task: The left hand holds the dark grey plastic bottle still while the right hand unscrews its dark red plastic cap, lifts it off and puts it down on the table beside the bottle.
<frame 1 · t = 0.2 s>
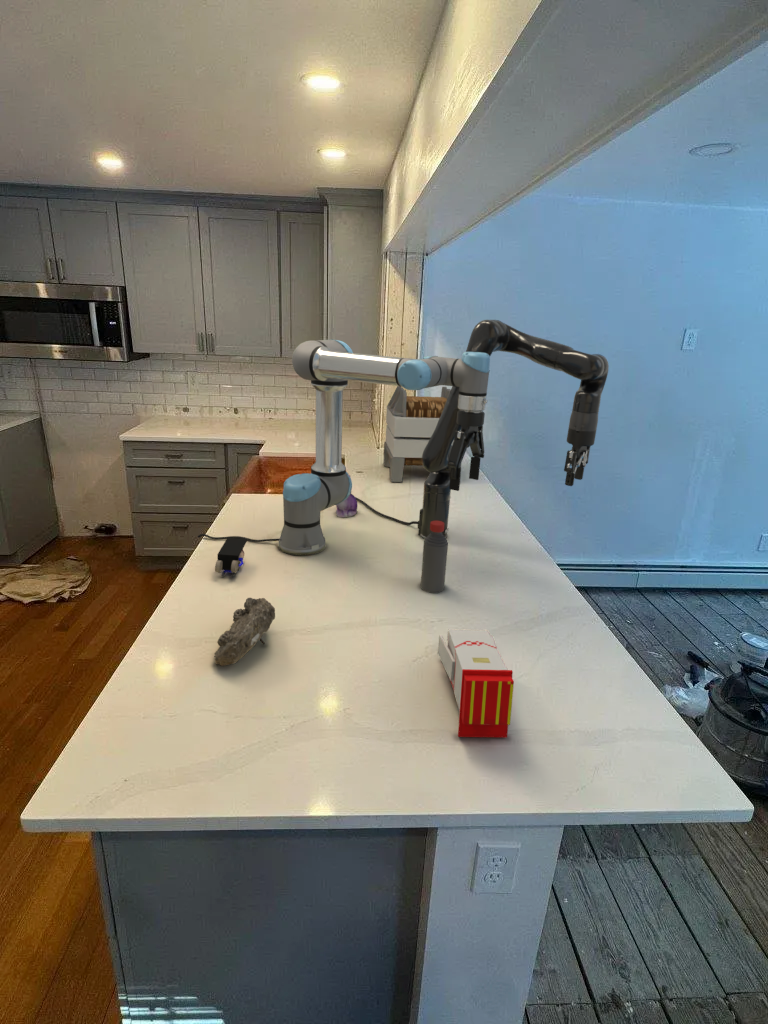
left hand: (464, 484, 163), 28 cm above the counter, tool pointing down, fingers open, 13 cm apart
right hand: (573, 482, 165), 29 cm above the counter, tool pointing down, fingers open, 8 cm apart
fossil: (248, 643, 132), on the counter
grey boxy piece: (419, 473, 275), on the counter
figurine: (346, 514, 217), on the counter
toy: (469, 691, 119), on the counter
bottle: (432, 587, 163), on the counter
cap: (437, 524, 156), point 19 cm above the counter, screwed on, not yet turned
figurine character: (232, 569, 168), on the counter
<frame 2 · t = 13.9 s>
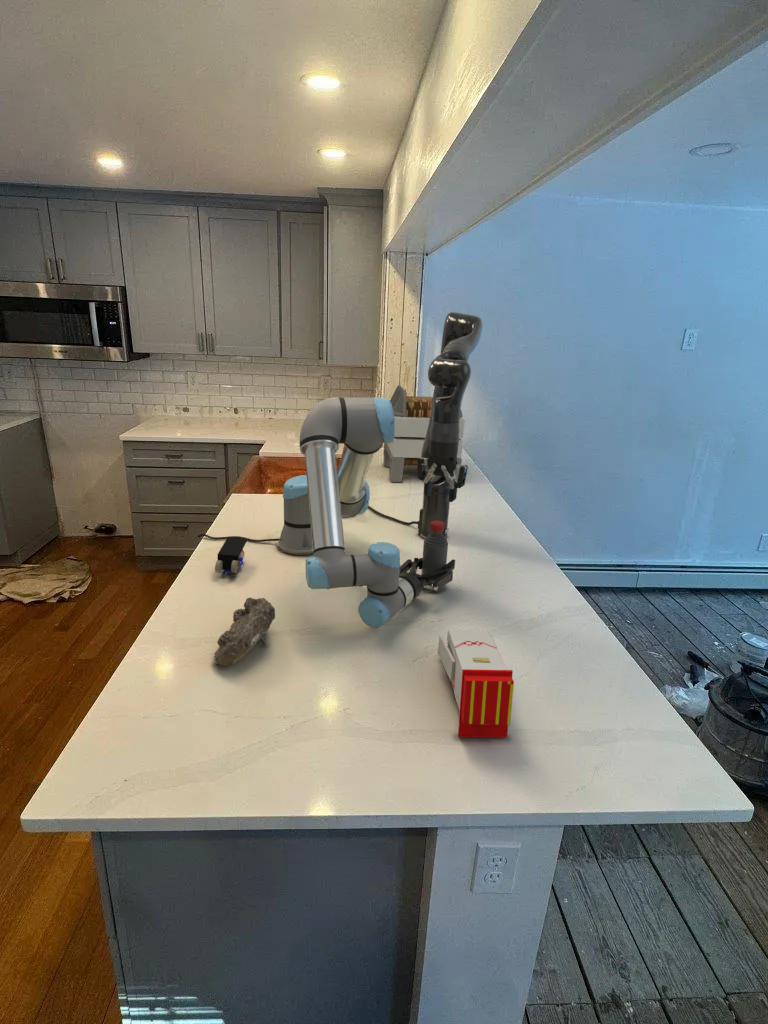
left hand: (441, 560, 164), 7 cm above the counter, tool horizontal, fingers closed on bottle, 7 cm apart
right hand: (439, 498, 153), 27 cm above the counter, tool pointing down, fingers open, 6 cm apart
bottle: (432, 587, 163), on the counter, touching left hand
everything else where it was.
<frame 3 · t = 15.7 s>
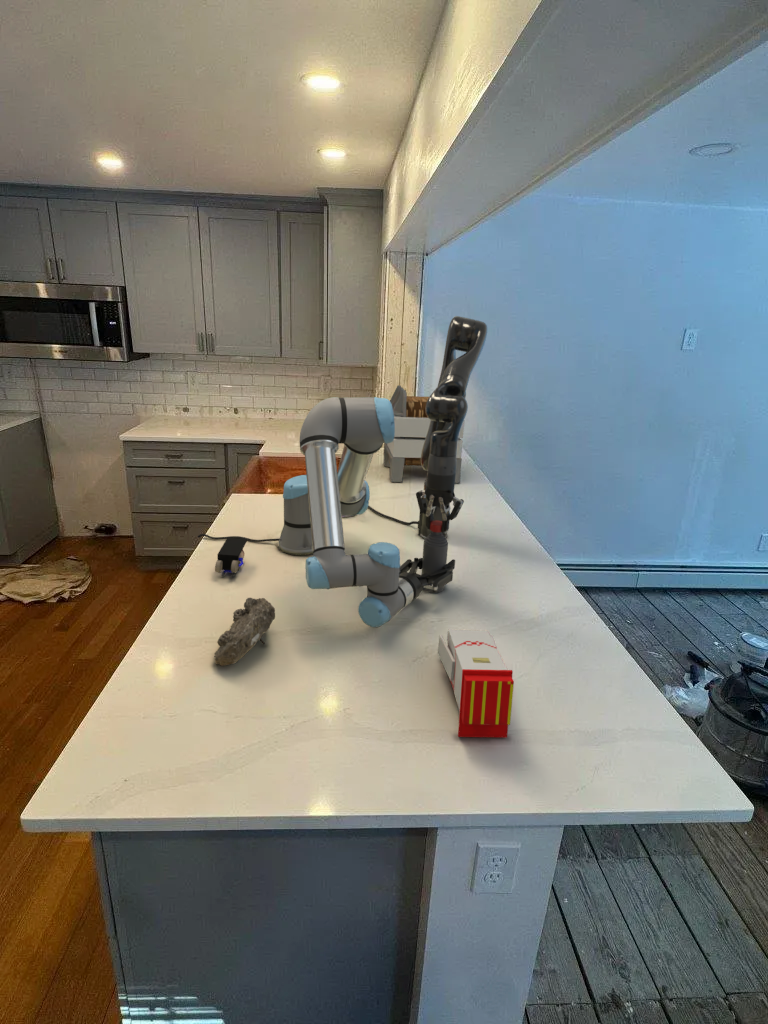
left hand: (441, 560, 164), 7 cm above the counter, tool horizontal, fingers closed on bottle, 7 cm apart
right hand: (436, 530, 157), 18 cm above the counter, tool pointing down, fingers closed on cap, 3 cm apart
bottle: (432, 587, 163), on the counter, touching left hand
cap: (437, 524, 156), point 19 cm above the counter, screwed on, not yet turned, touching right hand
everything else where it was.
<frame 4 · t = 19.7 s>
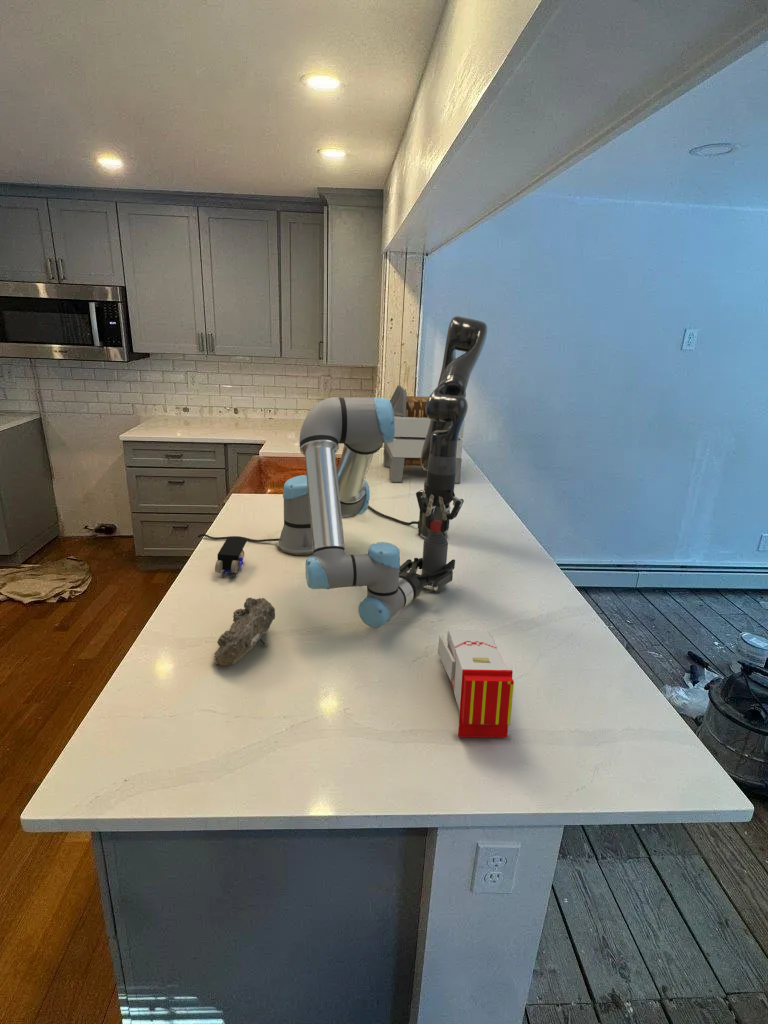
left hand: (441, 560, 164), 7 cm above the counter, tool horizontal, fingers closed on bottle, 7 cm apart
right hand: (436, 529, 157), 18 cm above the counter, tool pointing down, fingers closed on cap, 3 cm apart
bottle: (432, 587, 163), on the counter, touching left hand
cap: (437, 523, 156), point 20 cm above the counter, turned 99° so far, risen 0.1 cm, still on its thread, touching right hand
everything else where it was.
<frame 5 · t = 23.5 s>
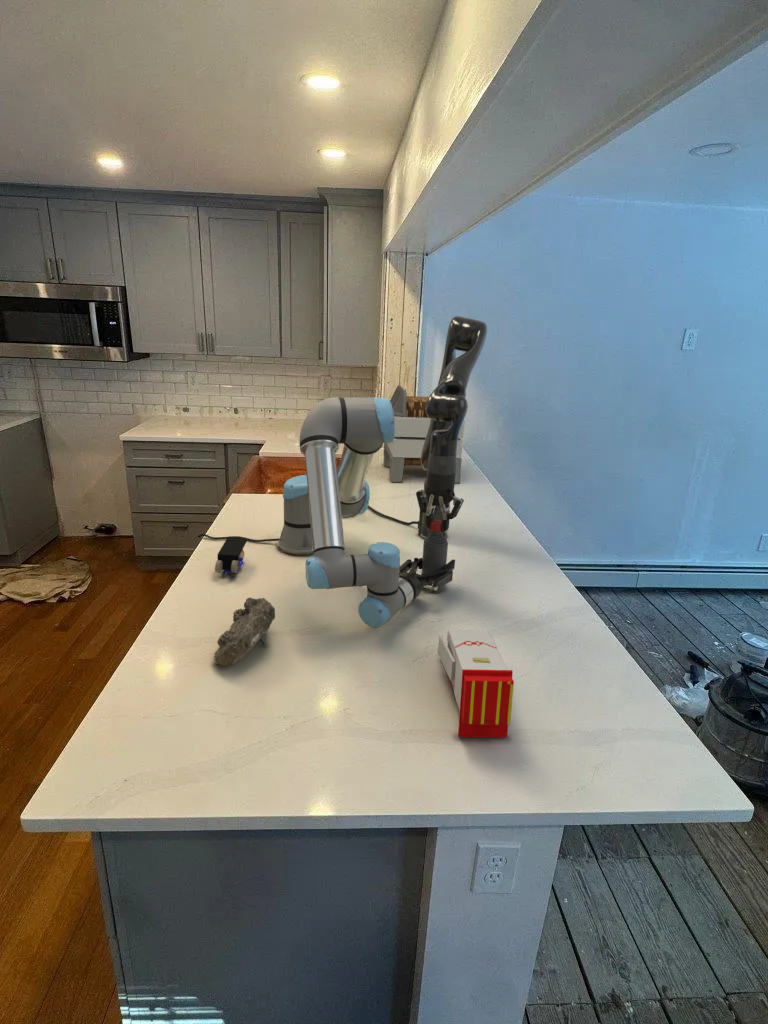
left hand: (441, 560, 164), 7 cm above the counter, tool horizontal, fingers closed on bottle, 7 cm apart
right hand: (436, 529, 156), 18 cm above the counter, tool pointing down, fingers closed on cap, 3 cm apart
bottle: (432, 587, 163), on the counter, touching left hand
cap: (437, 523, 156), point 20 cm above the counter, turned 198° so far, risen 0.2 cm, still on its thread, touching right hand
everything else where it was.
when the right hand's fingers open (1 cm above the counter, at t = 33.8 s): cap drops 2 cm, point 2 cm above the counter.
when the left hand's fingers open (7 cm above the counter, at t = 35.0 s): bottle stays where it is, on the counter.
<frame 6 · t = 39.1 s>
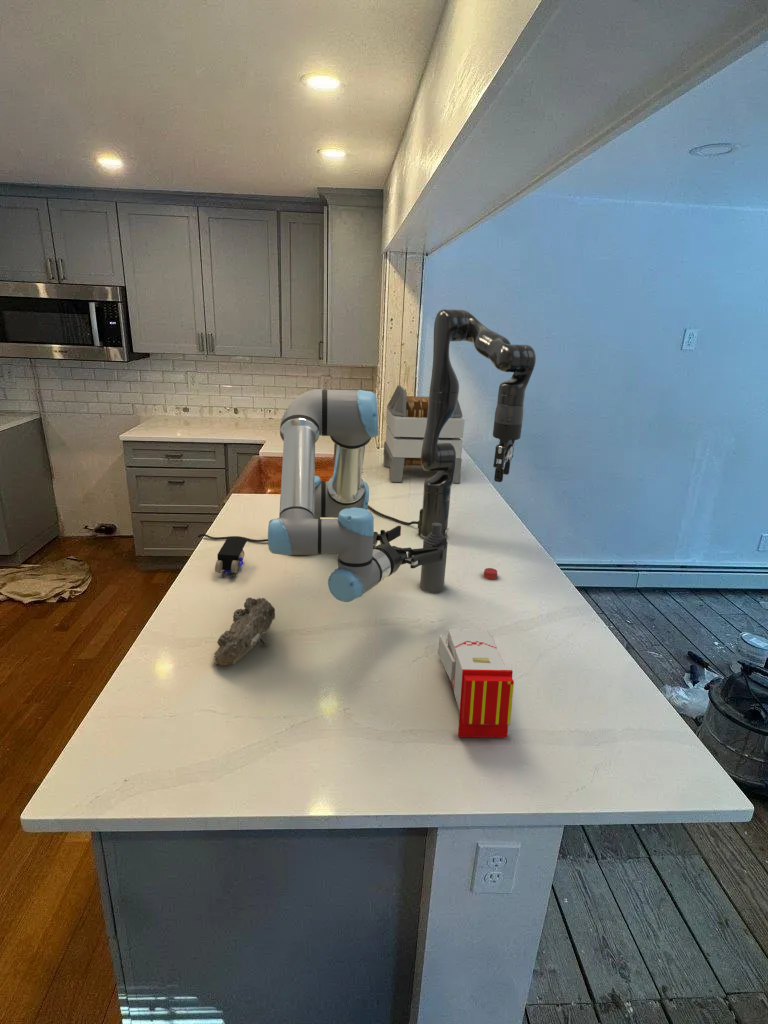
left hand: (421, 536, 149), 19 cm above the counter, tool horizontal, fingers open, 13 cm apart
right hand: (501, 477, 160), 31 cm above the counter, tool pointing down, fingers open, 8 cm apart
bottle: (431, 587, 163), on the counter
cap: (490, 571, 170), point 2 cm above the counter, off its thread
everything else where it was.
at the end: cap came off its thread; cap point 1.8 cm above the counter; the left hand is holding nothing; the right hand is holding nothing; bottle tilted 0°; bottle moved 0.1 cm from its start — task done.
